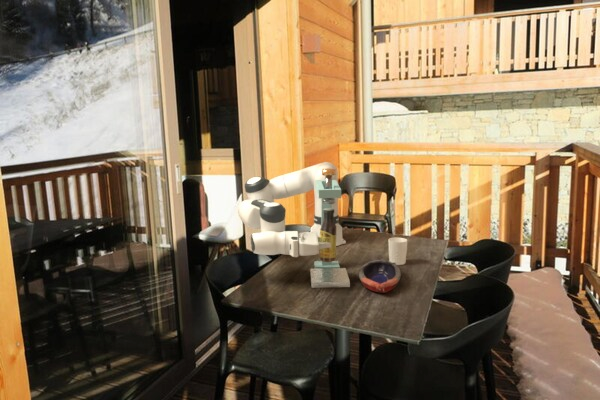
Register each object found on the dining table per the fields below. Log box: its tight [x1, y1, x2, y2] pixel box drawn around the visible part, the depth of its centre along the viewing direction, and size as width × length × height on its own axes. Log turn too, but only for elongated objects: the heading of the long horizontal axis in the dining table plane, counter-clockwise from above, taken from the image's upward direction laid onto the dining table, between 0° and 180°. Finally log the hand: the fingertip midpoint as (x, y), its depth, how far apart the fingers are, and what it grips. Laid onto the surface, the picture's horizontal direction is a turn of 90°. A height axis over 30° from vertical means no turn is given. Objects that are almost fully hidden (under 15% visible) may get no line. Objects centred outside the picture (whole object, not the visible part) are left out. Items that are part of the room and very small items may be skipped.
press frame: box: [313, 180, 342, 269], centre depth 194 cm, size 27×10×36 cm, turn 0°
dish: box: [358, 259, 402, 294], centre depth 188 cm, size 16×31×5 cm, turn 168°
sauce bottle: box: [318, 208, 337, 262], centre depth 188 cm, size 6×6×20 cm
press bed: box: [309, 267, 351, 289], centre depth 191 cm, size 16×14×2 cm
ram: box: [322, 168, 336, 204], centre depth 184 cm, size 5×5×12 cm
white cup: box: [387, 236, 408, 266], centre depth 210 cm, size 8×8×10 cm
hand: (330, 242), depth 188 cm, fingers closed on sauce bottle, 6 cm apart
